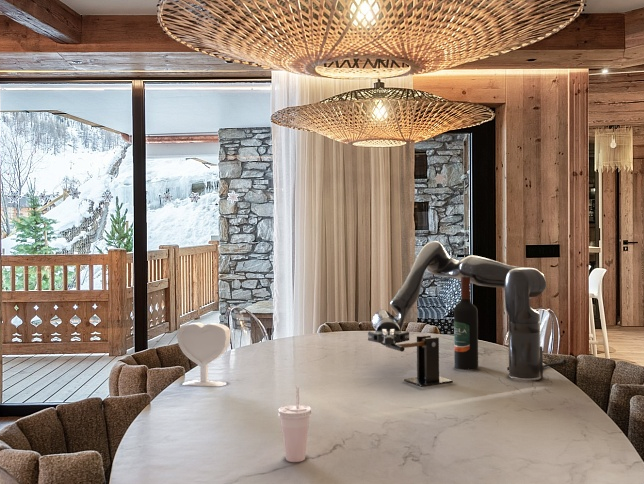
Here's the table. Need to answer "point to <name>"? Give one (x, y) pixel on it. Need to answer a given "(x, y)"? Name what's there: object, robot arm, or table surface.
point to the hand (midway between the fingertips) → (389, 341)
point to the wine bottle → (465, 330)
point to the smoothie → (295, 429)
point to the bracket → (428, 363)
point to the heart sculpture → (203, 347)
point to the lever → (406, 345)
